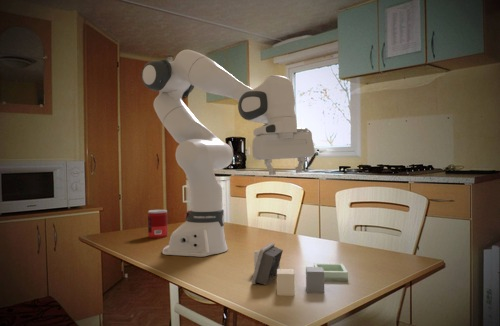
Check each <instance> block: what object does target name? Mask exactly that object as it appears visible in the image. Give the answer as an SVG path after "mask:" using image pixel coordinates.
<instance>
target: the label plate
mask: <svg viewBox="0 0 500 326" xmlns="http://www.w3.org/2000/svg"><path fill="white" fill-rule="evenodd" d="M259 252H260V250H254V253H253V255H254V257H253V258H254V260H253V263H254V268H255V267H256V263H257V259H258V256H259ZM274 262H275V260H274ZM274 262H273V263H274ZM280 264H281V263H279V266H278V269H281V267H280V266H281V265H280Z"/></svg>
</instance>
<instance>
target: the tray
mask: <svg viewBox="0 0 500 326" xmlns="http://www.w3.org/2000/svg"><path fill="white" fill-rule="evenodd" d="M313 267H322V268H323V270H324V282H325V281H326V282H328V281H329V282H330V281H331V282H333V281H334V282H337V281H338V282H345V281H346V282H348V281H349V272H348V269H347V268H346V267H345V265H344V263H313Z"/></svg>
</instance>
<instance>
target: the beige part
mask: <svg viewBox="0 0 500 326" xmlns="http://www.w3.org/2000/svg"><path fill="white" fill-rule="evenodd" d="M295 292H296V291H295V269H294V268H280V269H277V274H276V295H277V296H287V297H288V296H293V297H295V294H296V293H295Z"/></svg>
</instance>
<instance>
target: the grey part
mask: <svg viewBox="0 0 500 326" xmlns="http://www.w3.org/2000/svg"><path fill="white" fill-rule="evenodd" d="M305 288H306V292H307V293H308V294H310V293H311V294H325V281H324V270H323V268H322V267H314V266H305Z"/></svg>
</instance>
